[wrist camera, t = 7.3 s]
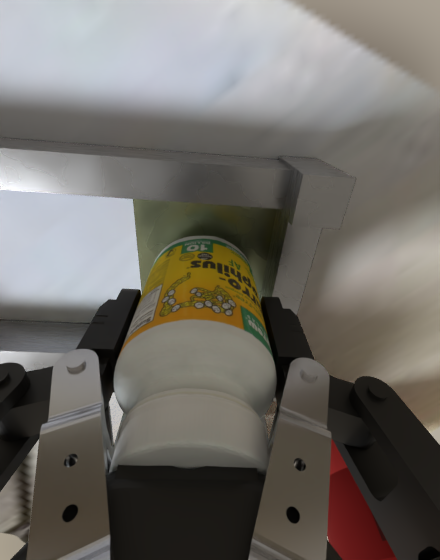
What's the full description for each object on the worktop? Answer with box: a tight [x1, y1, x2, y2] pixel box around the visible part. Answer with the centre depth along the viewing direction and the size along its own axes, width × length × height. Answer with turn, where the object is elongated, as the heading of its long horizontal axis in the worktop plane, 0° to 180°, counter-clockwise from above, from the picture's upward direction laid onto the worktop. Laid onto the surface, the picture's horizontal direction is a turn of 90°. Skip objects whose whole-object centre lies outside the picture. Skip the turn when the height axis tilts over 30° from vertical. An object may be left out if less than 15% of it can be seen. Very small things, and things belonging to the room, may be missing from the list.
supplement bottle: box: [109, 236, 277, 475], centre depth 11 cm, size 5×5×10 cm
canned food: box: [327, 439, 397, 560], centre depth 20 cm, size 8×8×11 cm
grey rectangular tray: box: [0, 138, 356, 401], centre depth 13 cm, size 23×12×4 cm, turn 86°
